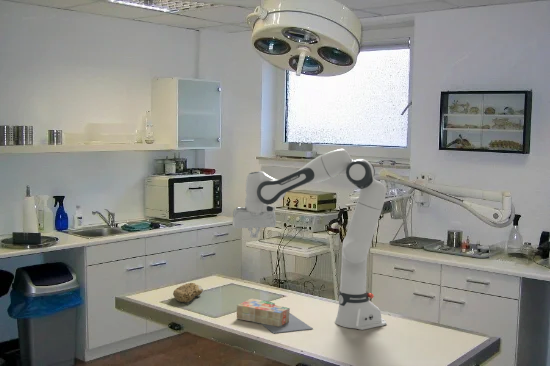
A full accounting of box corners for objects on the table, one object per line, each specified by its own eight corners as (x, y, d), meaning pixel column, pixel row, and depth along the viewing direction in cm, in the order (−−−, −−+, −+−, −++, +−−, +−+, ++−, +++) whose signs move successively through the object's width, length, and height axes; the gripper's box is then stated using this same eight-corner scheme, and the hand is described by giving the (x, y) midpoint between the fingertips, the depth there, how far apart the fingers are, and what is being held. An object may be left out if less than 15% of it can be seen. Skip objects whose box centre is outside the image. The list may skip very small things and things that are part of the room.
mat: (286, 311, 286) (286, 310, 286) (312, 329, 263) (312, 328, 263) (250, 315, 279) (250, 314, 279) (273, 333, 255) (273, 332, 255)
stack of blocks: (279, 327, 262) (292, 319, 273) (279, 312, 262) (293, 305, 273) (236, 318, 273) (250, 311, 283) (236, 304, 272) (251, 298, 283)
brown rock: (185, 295, 313) (162, 296, 295) (190, 280, 313) (166, 280, 296) (206, 304, 307) (183, 305, 289) (211, 289, 307) (188, 289, 290)
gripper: (235, 208, 274) (234, 239, 276) (278, 207, 283) (277, 237, 284) (230, 206, 280) (229, 237, 281) (272, 205, 288) (271, 235, 290)
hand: (253, 237), depth 283 cm, fingers closed
